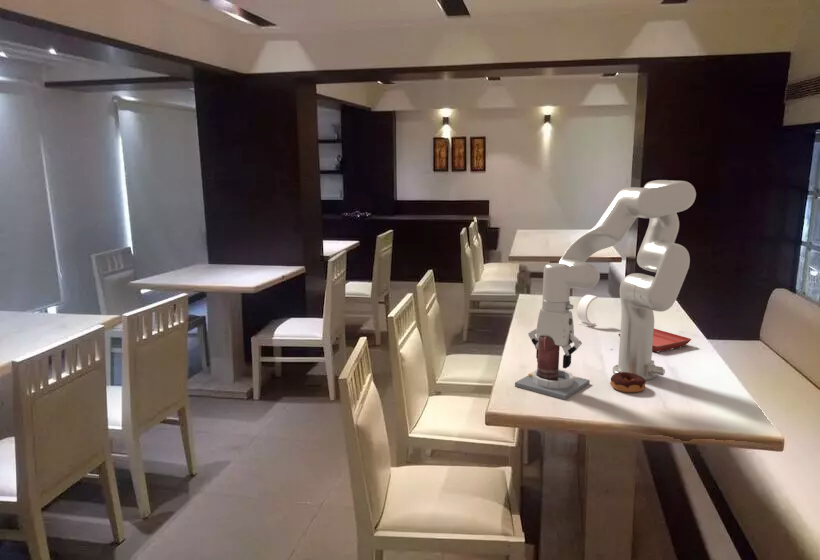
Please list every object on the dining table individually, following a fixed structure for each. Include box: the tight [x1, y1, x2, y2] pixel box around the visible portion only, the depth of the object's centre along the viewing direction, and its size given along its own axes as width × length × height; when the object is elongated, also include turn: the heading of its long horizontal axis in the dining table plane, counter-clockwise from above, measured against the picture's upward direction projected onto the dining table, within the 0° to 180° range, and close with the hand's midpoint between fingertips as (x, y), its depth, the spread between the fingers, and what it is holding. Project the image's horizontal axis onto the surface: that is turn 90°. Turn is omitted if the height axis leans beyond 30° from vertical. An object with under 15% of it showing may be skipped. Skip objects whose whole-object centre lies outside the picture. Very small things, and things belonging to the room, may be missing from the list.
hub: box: [514, 368, 591, 401], centre depth 174 cm, size 16×16×3 cm
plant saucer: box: [617, 328, 692, 353], centre depth 214 cm, size 18×18×3 cm
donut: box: [609, 372, 647, 394], centre depth 172 cm, size 10×10×4 cm
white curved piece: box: [576, 294, 598, 328], centre depth 239 cm, size 5×6×12 cm
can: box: [536, 336, 561, 381], centre depth 174 cm, size 6×6×14 cm
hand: (553, 363), depth 173 cm, fingers open, 7 cm apart
